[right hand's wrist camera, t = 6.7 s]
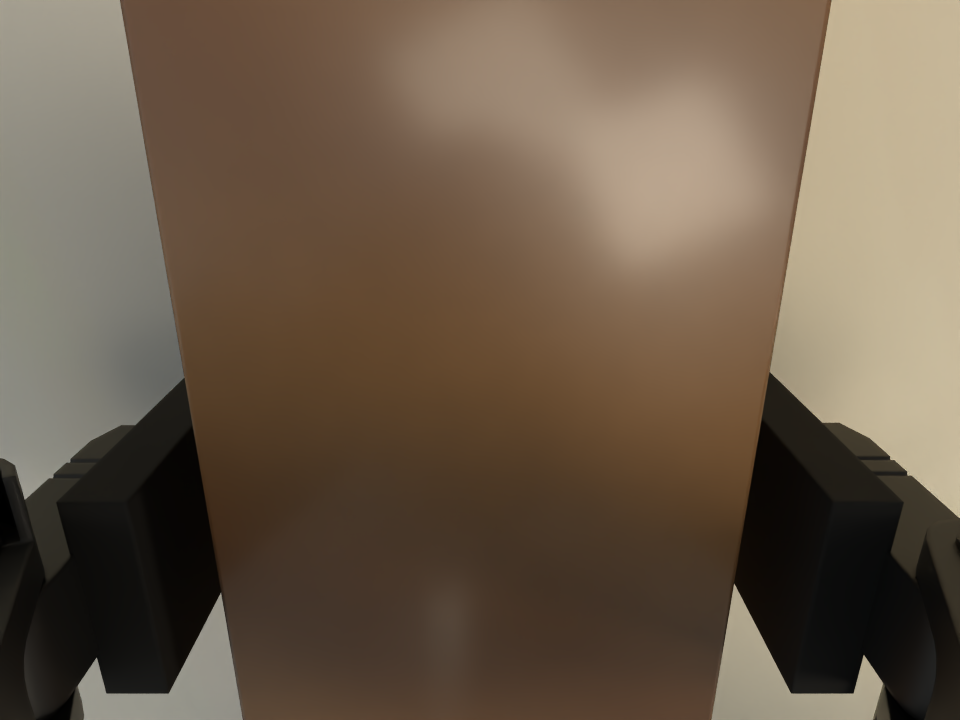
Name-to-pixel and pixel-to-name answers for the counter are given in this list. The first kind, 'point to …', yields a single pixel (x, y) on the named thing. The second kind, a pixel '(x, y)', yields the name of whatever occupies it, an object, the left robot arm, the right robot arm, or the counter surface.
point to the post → (476, 335)
